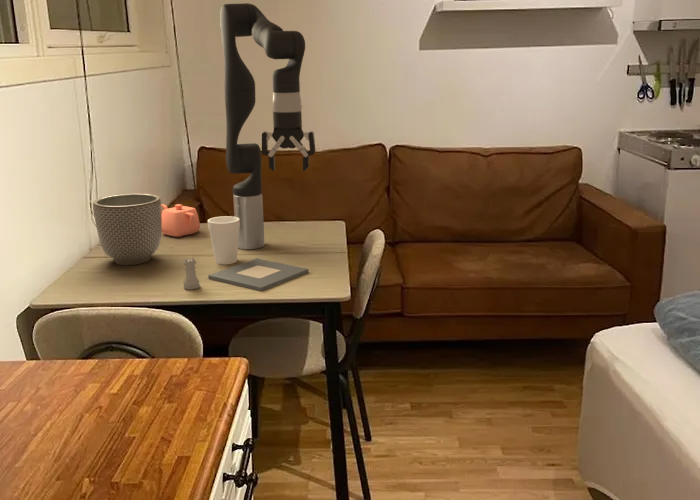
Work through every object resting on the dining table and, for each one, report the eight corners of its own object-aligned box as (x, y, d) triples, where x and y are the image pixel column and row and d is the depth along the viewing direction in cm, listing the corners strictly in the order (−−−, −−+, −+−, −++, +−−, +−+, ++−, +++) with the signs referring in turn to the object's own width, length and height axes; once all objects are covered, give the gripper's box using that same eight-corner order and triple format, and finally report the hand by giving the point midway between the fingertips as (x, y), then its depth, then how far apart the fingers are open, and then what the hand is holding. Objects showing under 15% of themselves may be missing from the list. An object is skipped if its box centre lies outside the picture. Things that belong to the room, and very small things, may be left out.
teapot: (182, 240, 246) (179, 210, 244) (150, 232, 258) (147, 204, 255) (208, 234, 255) (206, 204, 252) (177, 226, 266) (174, 198, 263)
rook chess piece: (184, 285, 200) (182, 257, 198) (201, 284, 200) (199, 256, 198) (182, 290, 196) (180, 261, 194) (199, 289, 196) (197, 261, 194)
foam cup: (226, 255, 228) (223, 214, 224) (248, 260, 223) (245, 218, 219) (204, 262, 220) (201, 221, 217) (226, 267, 215) (223, 224, 212)
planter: (87, 261, 224) (79, 200, 219) (143, 248, 238) (138, 190, 232) (121, 274, 211) (114, 209, 206) (178, 259, 225) (173, 198, 219)
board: (208, 278, 205) (208, 274, 205) (257, 261, 221) (256, 258, 221) (261, 291, 194) (260, 287, 194) (308, 272, 210) (308, 268, 209)
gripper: (257, 111, 190) (260, 173, 194) (312, 110, 189) (314, 172, 193) (262, 108, 197) (265, 168, 201) (315, 108, 196) (317, 168, 201)
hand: (289, 170), depth 197 cm, fingers open, 8 cm apart
